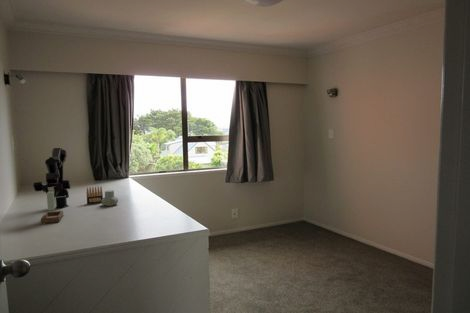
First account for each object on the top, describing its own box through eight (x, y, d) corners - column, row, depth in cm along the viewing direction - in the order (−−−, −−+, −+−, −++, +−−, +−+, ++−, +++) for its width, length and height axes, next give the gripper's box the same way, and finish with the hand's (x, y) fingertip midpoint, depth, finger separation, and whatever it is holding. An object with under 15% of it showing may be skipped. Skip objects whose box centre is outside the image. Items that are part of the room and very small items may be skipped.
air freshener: (100, 207, 222) (99, 192, 221) (102, 204, 230) (101, 190, 229) (118, 205, 224) (117, 191, 224) (118, 203, 232) (118, 189, 232)
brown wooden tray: (46, 217, 198) (46, 212, 198) (63, 215, 202) (63, 210, 201) (41, 224, 184) (40, 219, 183) (59, 222, 187) (59, 217, 186)
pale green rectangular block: (50, 206, 196) (49, 190, 195) (56, 206, 197) (55, 189, 196) (47, 210, 187) (46, 193, 186) (53, 209, 188) (52, 192, 187)
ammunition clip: (86, 204, 231) (85, 187, 230) (86, 203, 233) (85, 187, 232) (103, 202, 236) (102, 186, 235) (103, 202, 237) (102, 185, 236)
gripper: (32, 168, 191) (29, 190, 182) (68, 166, 198) (67, 187, 189) (36, 180, 199) (34, 201, 190) (70, 177, 206) (69, 198, 197)
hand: (51, 197), depth 191 cm, fingers closed on pale green rectangular block, 3 cm apart
